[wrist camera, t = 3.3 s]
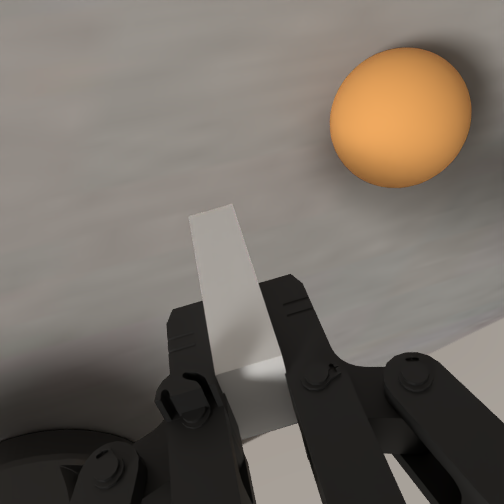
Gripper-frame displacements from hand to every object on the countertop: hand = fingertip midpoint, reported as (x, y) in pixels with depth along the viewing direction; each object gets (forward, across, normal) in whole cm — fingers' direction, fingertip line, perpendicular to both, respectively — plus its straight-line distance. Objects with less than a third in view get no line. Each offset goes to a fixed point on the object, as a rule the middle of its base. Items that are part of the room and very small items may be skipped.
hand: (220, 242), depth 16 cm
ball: (+6, +9, 0) cm, 11 cm away
